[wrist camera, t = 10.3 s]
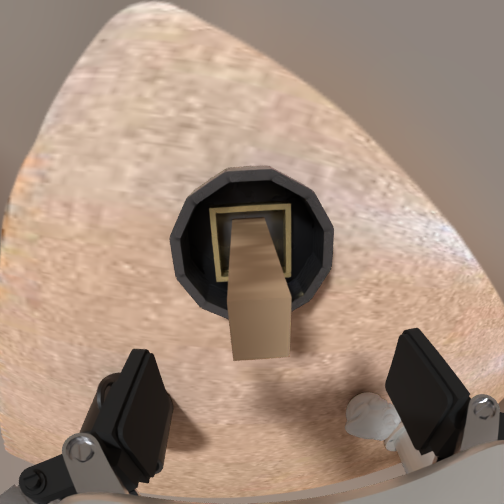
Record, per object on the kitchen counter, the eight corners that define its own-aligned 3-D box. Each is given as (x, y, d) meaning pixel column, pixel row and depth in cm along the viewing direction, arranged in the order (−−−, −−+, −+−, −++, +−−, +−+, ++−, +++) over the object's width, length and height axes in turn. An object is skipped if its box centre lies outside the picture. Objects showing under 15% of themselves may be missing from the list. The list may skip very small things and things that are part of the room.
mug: (154, 354, 27) (132, 423, 18) (182, 420, 31) (174, 479, 23) (81, 352, 27) (49, 409, 18) (118, 416, 31) (102, 468, 23)
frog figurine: (379, 405, 32) (396, 443, 26) (332, 415, 32) (345, 456, 26) (391, 376, 30) (413, 415, 24) (340, 386, 30) (357, 431, 23)
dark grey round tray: (320, 164, 21) (334, 168, 18) (317, 293, 25) (327, 314, 22) (173, 172, 21) (162, 177, 17) (190, 301, 25) (184, 324, 21)
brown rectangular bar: (264, 217, 22) (291, 297, 11) (265, 253, 23) (289, 356, 12) (232, 218, 22) (226, 301, 11) (235, 255, 23) (233, 360, 12)
